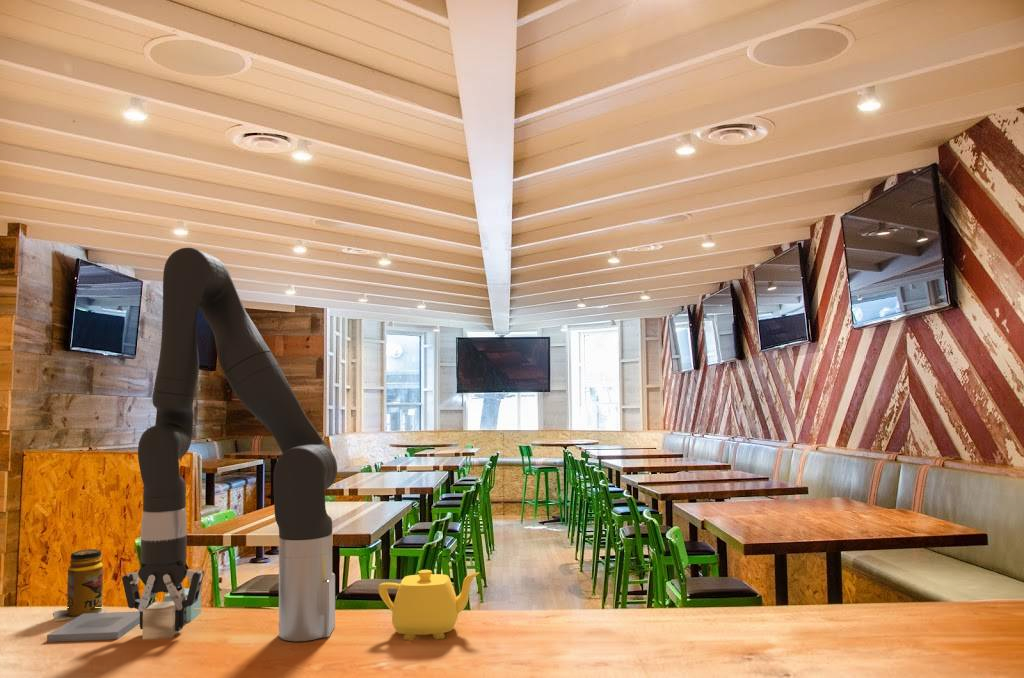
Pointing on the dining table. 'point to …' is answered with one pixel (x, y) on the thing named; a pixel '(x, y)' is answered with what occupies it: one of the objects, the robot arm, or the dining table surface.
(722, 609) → the dining table surface
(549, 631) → the dining table surface
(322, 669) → the dining table surface
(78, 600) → the condiment
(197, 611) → the block teal
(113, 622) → the plate
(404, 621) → the teapot
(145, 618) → the block birch
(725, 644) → the dining table surface
